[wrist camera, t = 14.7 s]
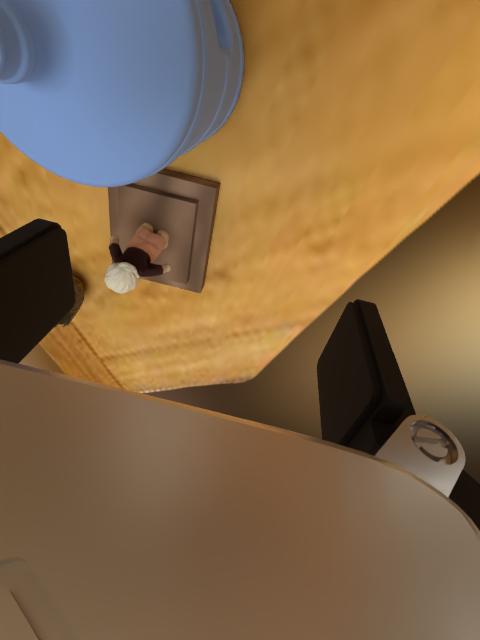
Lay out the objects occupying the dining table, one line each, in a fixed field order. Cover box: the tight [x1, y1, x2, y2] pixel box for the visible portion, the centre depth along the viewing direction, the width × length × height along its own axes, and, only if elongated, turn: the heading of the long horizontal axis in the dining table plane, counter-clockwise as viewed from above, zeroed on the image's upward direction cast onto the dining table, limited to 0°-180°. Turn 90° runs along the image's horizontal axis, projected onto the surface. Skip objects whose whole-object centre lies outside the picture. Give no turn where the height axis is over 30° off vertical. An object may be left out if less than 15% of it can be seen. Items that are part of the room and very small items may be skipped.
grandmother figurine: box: [104, 223, 171, 293], centre depth 38 cm, size 8×4×13 cm, turn 74°
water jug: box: [0, 0, 244, 187], centre depth 23 cm, size 16×16×28 cm
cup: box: [54, 275, 84, 327], centre depth 51 cm, size 8×7×8 cm
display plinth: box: [108, 169, 220, 293], centre depth 44 cm, size 14×16×4 cm
